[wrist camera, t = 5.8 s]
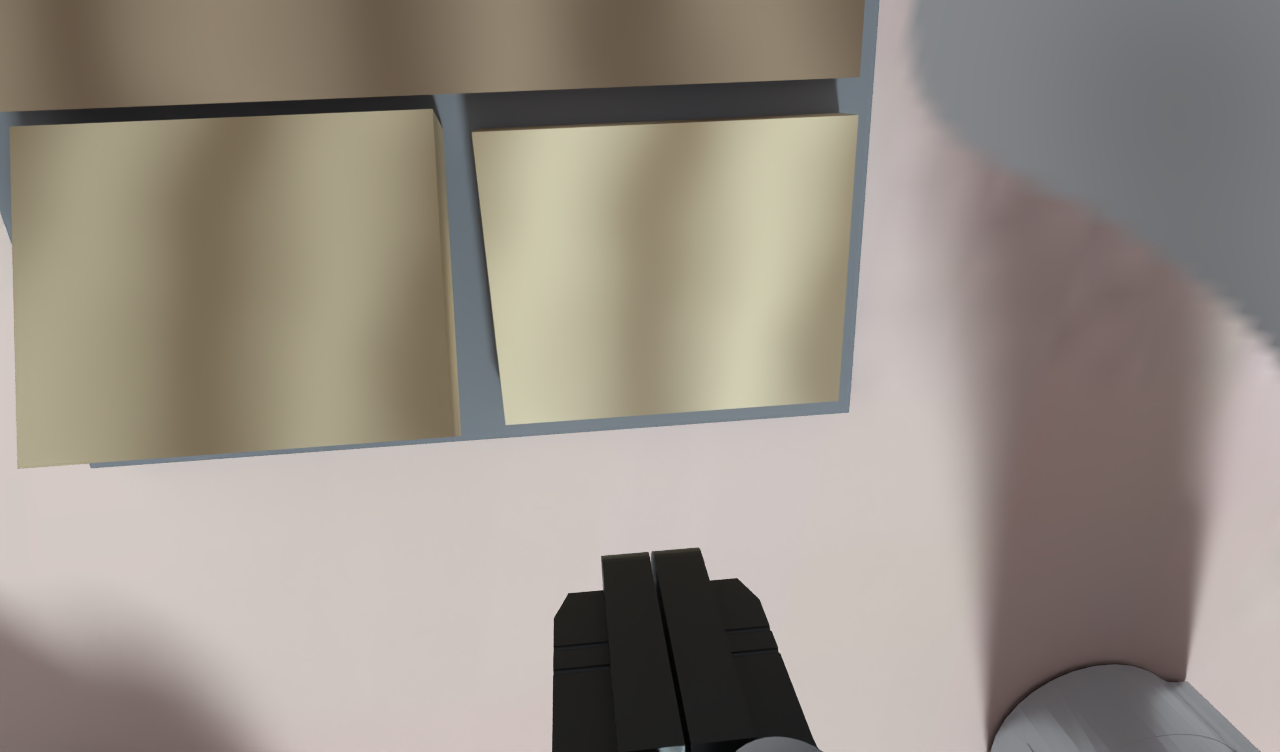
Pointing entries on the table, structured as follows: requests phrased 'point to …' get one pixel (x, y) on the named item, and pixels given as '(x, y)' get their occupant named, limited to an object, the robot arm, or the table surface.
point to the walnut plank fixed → (404, 47)
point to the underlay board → (465, 221)
